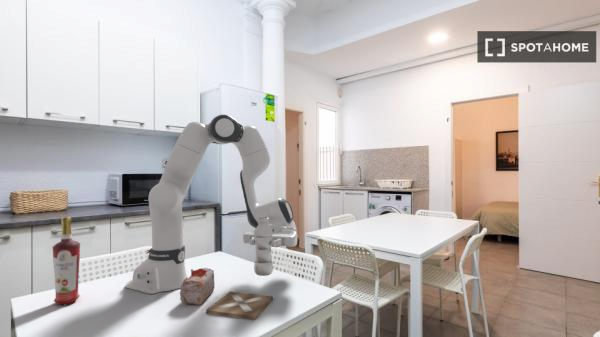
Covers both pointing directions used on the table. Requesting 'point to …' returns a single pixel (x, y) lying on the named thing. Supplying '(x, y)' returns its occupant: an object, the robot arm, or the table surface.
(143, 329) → the table surface
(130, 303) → the table surface
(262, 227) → the plastic bottle
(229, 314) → the brown board with cross
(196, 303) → the food item
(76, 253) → the liquor
